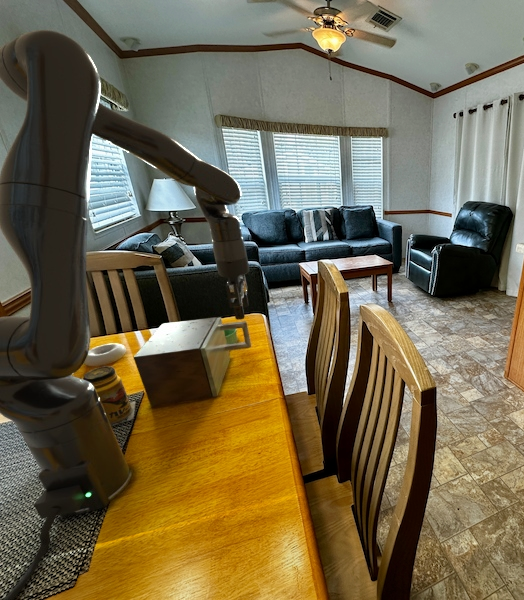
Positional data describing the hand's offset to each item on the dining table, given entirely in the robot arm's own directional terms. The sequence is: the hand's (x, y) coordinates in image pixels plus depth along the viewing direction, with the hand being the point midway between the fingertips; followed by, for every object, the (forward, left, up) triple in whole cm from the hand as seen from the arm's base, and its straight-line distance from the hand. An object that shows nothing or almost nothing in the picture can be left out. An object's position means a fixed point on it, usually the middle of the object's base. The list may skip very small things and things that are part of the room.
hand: (242, 312), depth 91 cm
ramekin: (+13, +10, -16) cm, 22 cm away
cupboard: (-7, +14, -15) cm, 22 cm away
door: (-7, +3, -15) cm, 17 cm away
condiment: (-17, +28, -16) cm, 36 cm away
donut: (+13, +42, -16) cm, 47 cm away
